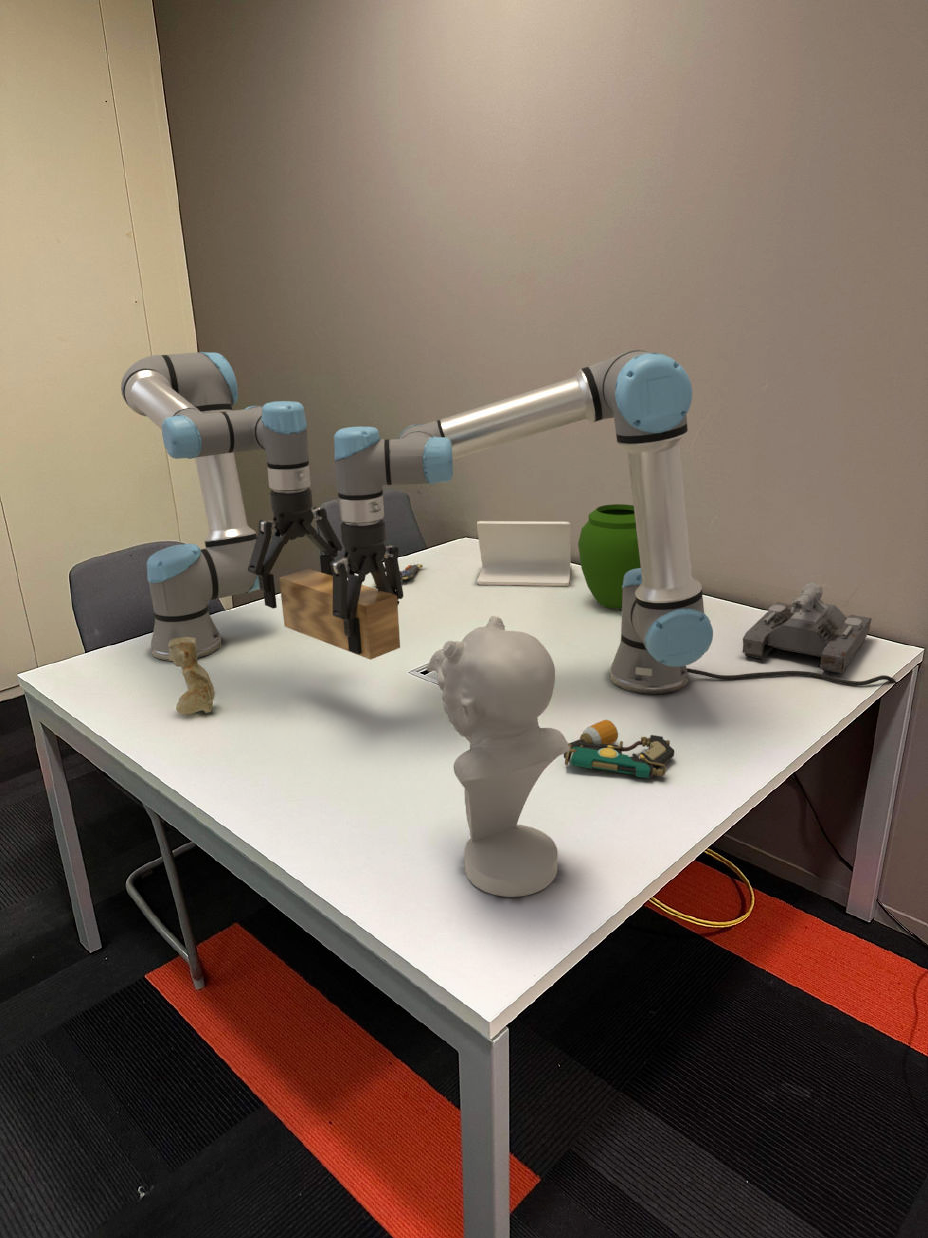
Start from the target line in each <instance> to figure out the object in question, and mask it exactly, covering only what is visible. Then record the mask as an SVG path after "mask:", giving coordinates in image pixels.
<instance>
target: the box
mask: <svg viewBox="0 0 928 1238" xmlns="http://www.w3.org/2000/svg"><path fill="white" fill-rule="evenodd" d="M278 581H279V589H280V598H281V608H282V616H283V625H284V628H287V629H290V630H292V631H295V632H297V633H299V634H303V635H305V636H307V637H309V638H312V639H315V640H318V641H321V642H323V643H326V644H328V645H331V646H333V647H336V648H339V649H341V650H344V651H347V652H349V653H352V654H355V655H357V656H359V657H362V658H365V659H367V660H370V661H371V660H374V659H376V658H378V657H381V656H384V655H386V654H388V653H390V652H393V651H395V650H398V649H401V639H400V638H401V637H400V621H399V605H398V604H397V595H394V594H391V593H387V592H383V591H380V590H378V588H373V587H370V586H368V585H364V584H362V586H361V591H360V596H359V601H358V603H357V605H358V606H357V610H356V615H355V617H356V618H359V623H360V636H361V648H362V653H361V654H356V653H354V652H351V651H349V647H348V636H346V635H345V633H344V623H343V619H340V618H337V617H334V616H333V614H332V611H333V576H331V575H328V574H324V573H321V571H317V570H314V569H311V568H307V569H304V570H301V571H297V572H293V573H290V574H286V575H282V576H279V577H278ZM347 582H348V579H347Z"/></svg>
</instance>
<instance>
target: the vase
mask: <svg viewBox="0 0 928 1238" xmlns="http://www.w3.org/2000/svg"><path fill="white" fill-rule="evenodd" d="M587 516H588V517H587V518H588V521H587V522H586V523H585V524H584V525H583V526H582V527H581V529H580V534H579V538H578V541H577V546H578V554H579V562H580V569H581V571H582V574H583V577H584V580H585V583H586V585H587V588H588V590H589V591H590V594H592V597H593V598H594V600H595V601H596V602H597V603H598V604H599V605H600V606H602V607H604V608H606V609H609V610H622V596H623V588H622V585H623V580H624V575H625V574H626V572H628V571H630V570H633V569H638V568H641V564H640V556H639V547H638V538H637V530H636V521H635V512H634V504H622V503H621V504H619V503H616V504H615V503H614V504H604V505H601V506H598V507H597V508H595V509H594V510H592V511H591V512H590V513H589V514H588V515H587Z"/></svg>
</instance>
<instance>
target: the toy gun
mask: <svg viewBox="0 0 928 1238" xmlns="http://www.w3.org/2000/svg"><path fill="white" fill-rule="evenodd" d="M422 568H424V565H423V563H416V564H415V563H414V564H410V565H407V566H406V567H405V568H404V569H403V570H399V571H400V577H401V581H406V580H411V578H412V577H414V575H415V574H416V572H418V571H419V570H420V569H422ZM373 581H374V580H373ZM374 586H375V587H377V586H376V584H375V581H374Z"/></svg>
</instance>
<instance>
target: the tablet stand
mask: <svg viewBox="0 0 928 1238" xmlns="http://www.w3.org/2000/svg"><path fill="white" fill-rule="evenodd" d="M476 531H477V537H478V544H479V551H480V557H481V558H480V559H481V570H480V573H479V575H478V577H477V580H476V581H477V582H476V584H478V585H484V586H485V585H486V586H487V585H489V586H490V585H491V586H541V587H542V586H543V587H544V586H545V587H546V586H547V587H549V586H551V587H556V586H557V587H569V586H570V580H571V579H570V578H571V565H572V564H571V560H572V558H571V522H569V521H537V520H536V521H529V520H528V521H525V520H524V521H523V520H522V521H521V520H520V521H519V520H517V521H516V520H515V521H514V520H510V521H509V520H505V521H504V520H477V522H476Z"/></svg>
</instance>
